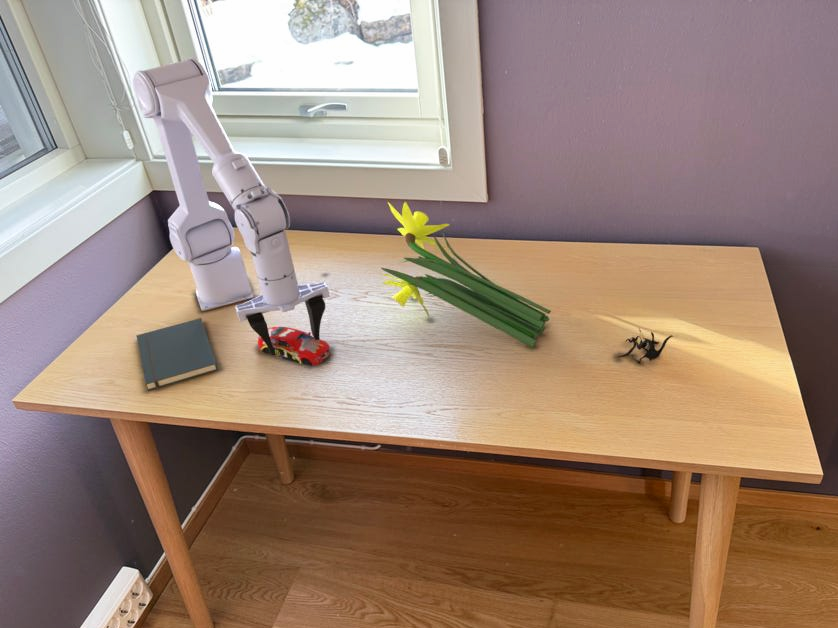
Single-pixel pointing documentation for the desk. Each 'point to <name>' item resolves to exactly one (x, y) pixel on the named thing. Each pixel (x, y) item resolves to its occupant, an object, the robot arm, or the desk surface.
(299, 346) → the race car
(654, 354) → the creature
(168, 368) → the notebook
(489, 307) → the daffodil flowers
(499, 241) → the desk surface
